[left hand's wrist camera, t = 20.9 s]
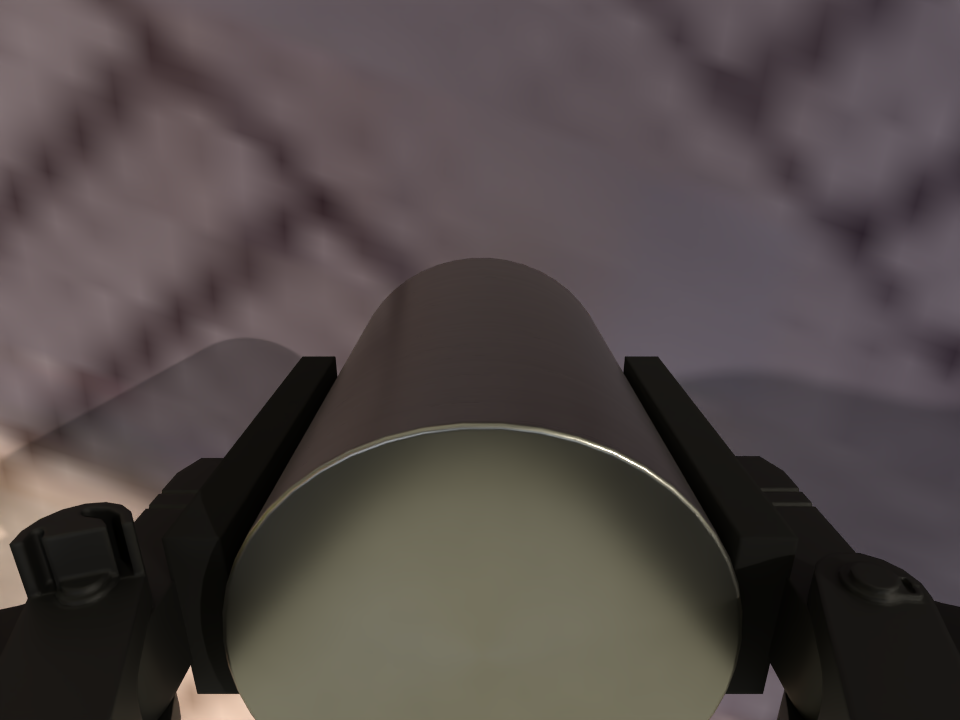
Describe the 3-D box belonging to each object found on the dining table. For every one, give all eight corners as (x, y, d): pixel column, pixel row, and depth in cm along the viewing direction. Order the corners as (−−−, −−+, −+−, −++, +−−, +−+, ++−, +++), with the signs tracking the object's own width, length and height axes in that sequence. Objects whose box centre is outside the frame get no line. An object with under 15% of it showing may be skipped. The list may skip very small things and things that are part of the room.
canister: (391, 505, 17) (310, 850, 9) (325, 285, 15) (134, 480, 7) (620, 465, 17) (755, 792, 9) (588, 232, 15) (732, 372, 6)
